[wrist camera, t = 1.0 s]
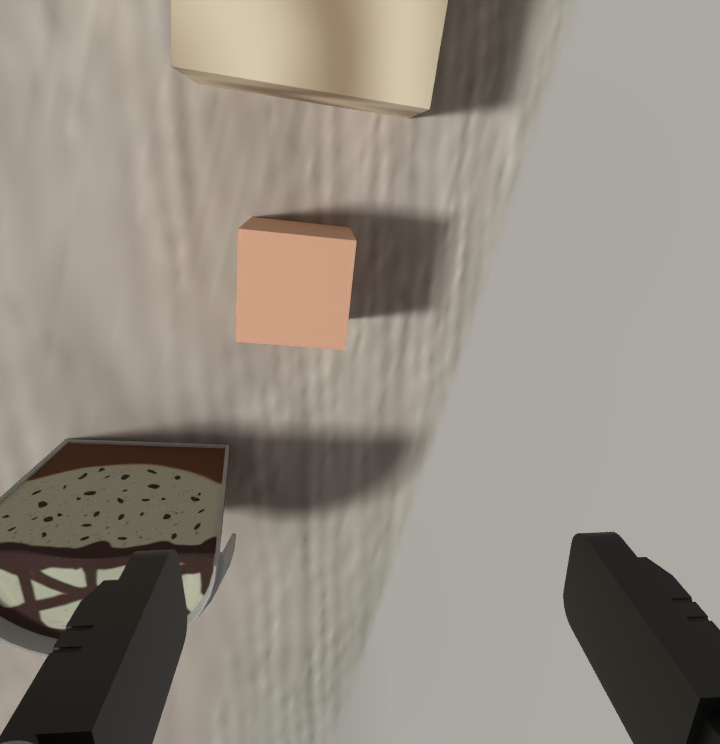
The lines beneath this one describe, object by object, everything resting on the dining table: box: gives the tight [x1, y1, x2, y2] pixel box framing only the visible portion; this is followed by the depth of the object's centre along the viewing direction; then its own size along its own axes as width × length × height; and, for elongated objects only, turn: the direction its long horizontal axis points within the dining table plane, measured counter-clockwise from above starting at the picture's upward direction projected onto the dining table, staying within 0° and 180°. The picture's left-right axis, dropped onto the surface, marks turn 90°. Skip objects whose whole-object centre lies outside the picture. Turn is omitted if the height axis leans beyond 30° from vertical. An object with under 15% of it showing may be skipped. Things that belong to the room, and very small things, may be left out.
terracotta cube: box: [236, 217, 357, 350], centre depth 25 cm, size 5×5×5 cm
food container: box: [0, 439, 236, 656], centre depth 27 cm, size 12×6×10 cm, turn 85°
